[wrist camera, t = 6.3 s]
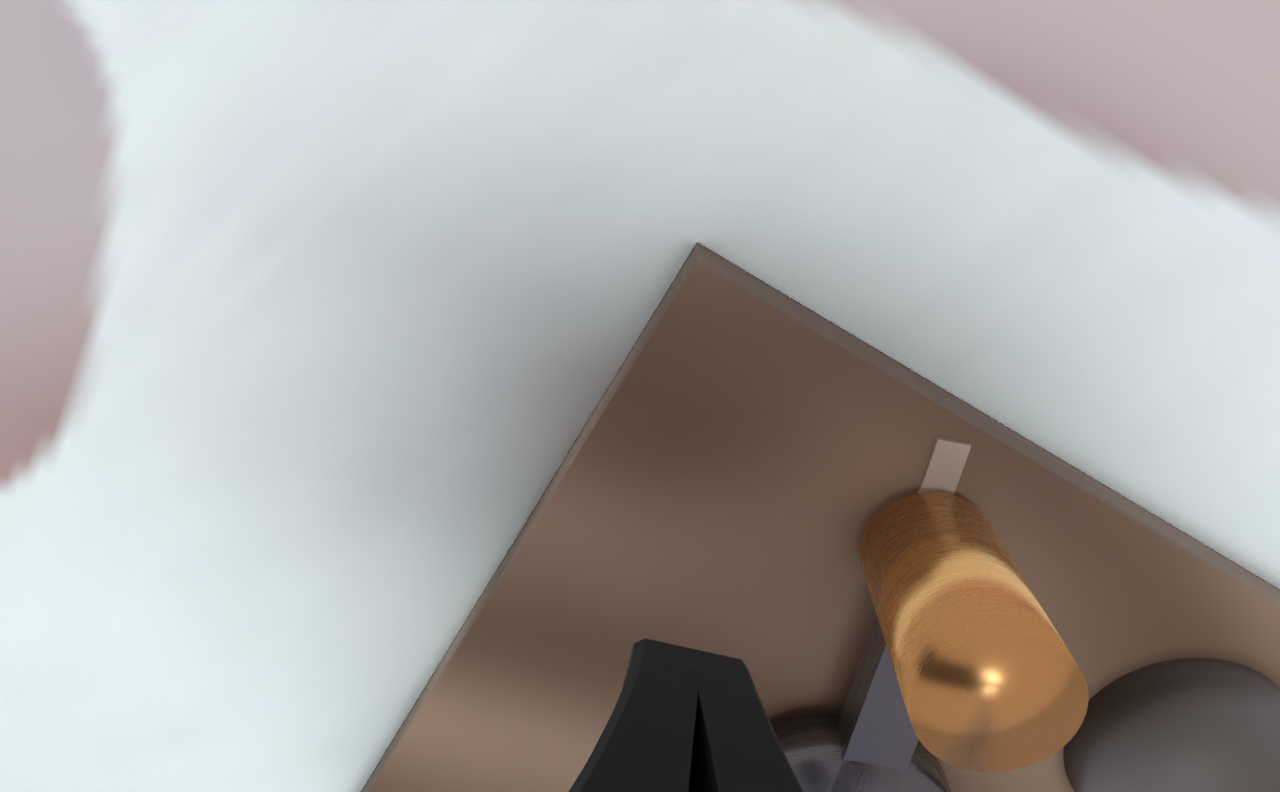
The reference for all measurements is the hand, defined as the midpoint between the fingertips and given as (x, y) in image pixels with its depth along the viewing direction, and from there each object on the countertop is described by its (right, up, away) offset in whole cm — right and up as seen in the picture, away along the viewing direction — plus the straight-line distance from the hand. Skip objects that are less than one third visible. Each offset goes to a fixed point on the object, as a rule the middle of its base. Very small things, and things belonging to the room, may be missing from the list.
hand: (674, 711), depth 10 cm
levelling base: (+4, -4, +9) cm, 11 cm away
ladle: (+4, -2, +6) cm, 8 cm away
